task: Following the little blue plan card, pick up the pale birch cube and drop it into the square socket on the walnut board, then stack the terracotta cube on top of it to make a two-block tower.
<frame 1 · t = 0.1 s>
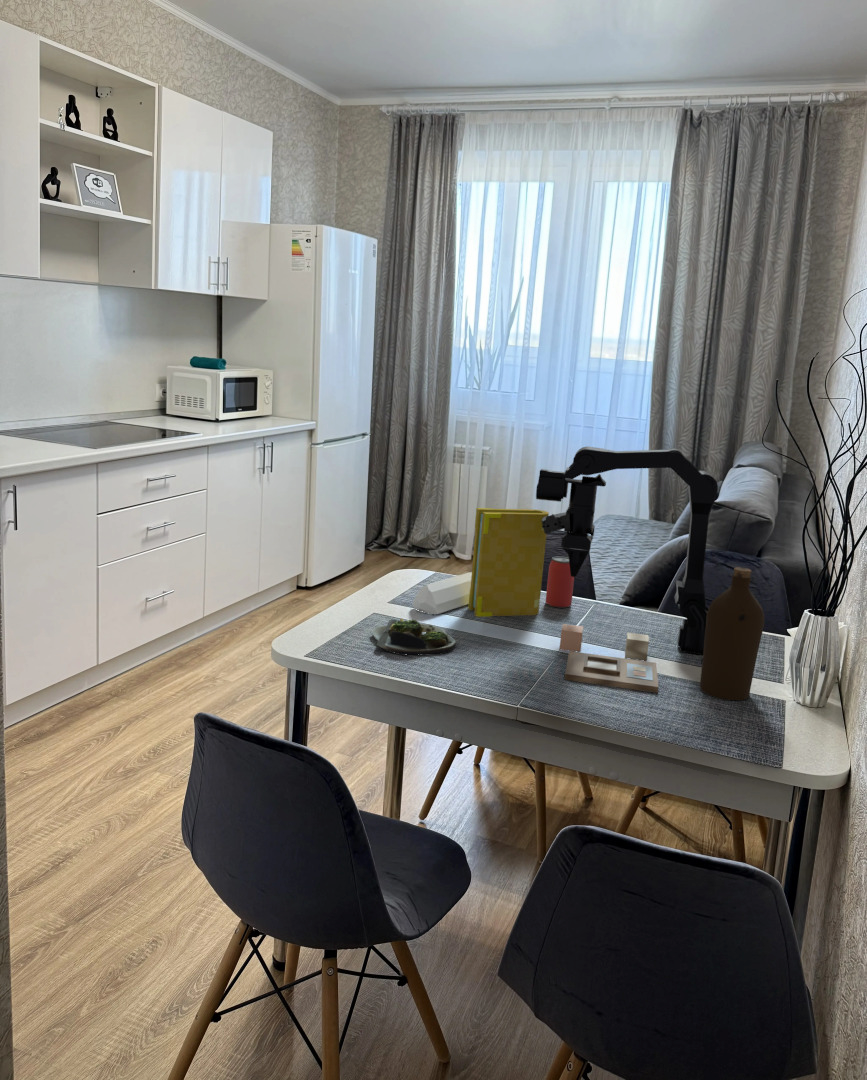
hand: (574, 571, 201), 15 cm above the table, tool pointing down, fingers open, 9 cm apart
beer can: (558, 605, 226), on the table
salad plate: (412, 645, 191), on the table
crystal: (449, 606, 220), on the table
olive oil: (723, 692, 176), on the table
terracotta block: (570, 647, 195), on the table
book: (505, 612, 217), on the table
birch block: (635, 656, 192), on the table
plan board: (611, 673, 181), on the table
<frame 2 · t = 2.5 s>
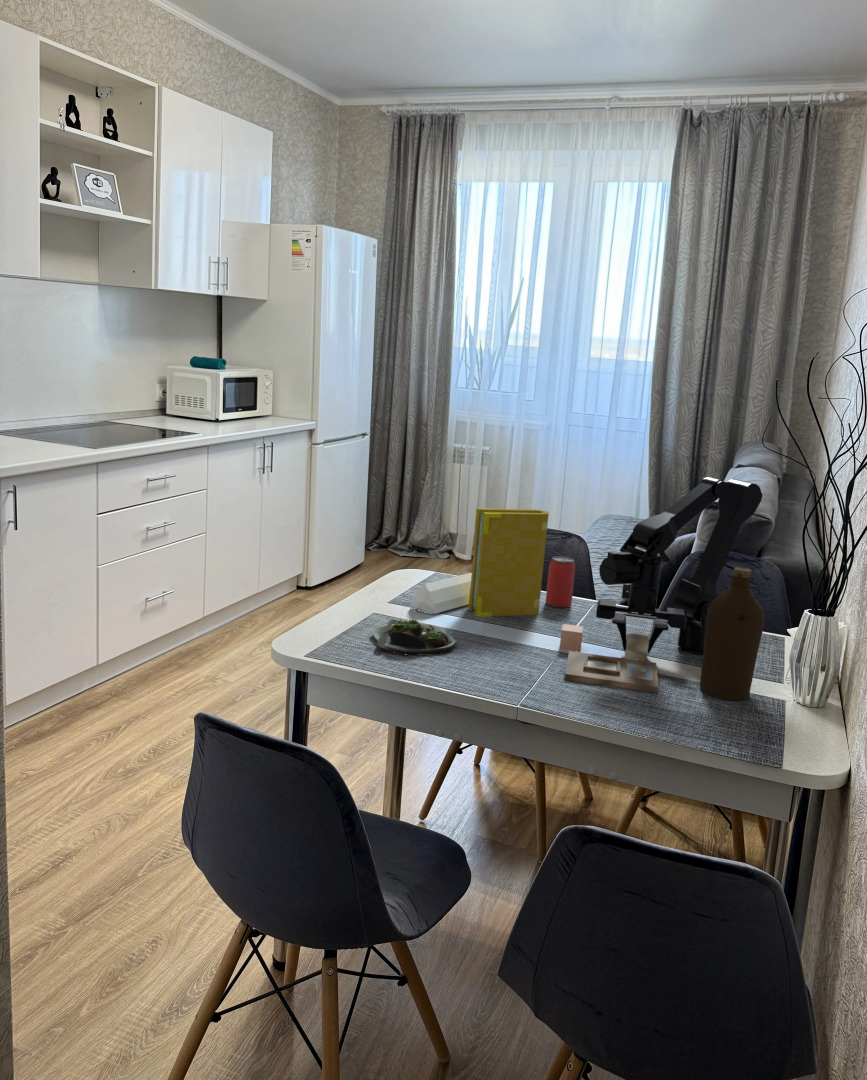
hand: (636, 651, 192), 1 cm above the table, tool pointing down, fingers closed on birch block, 4 cm apart
birch block: (635, 656, 192), on the table, touching gripper
everything else where it was.
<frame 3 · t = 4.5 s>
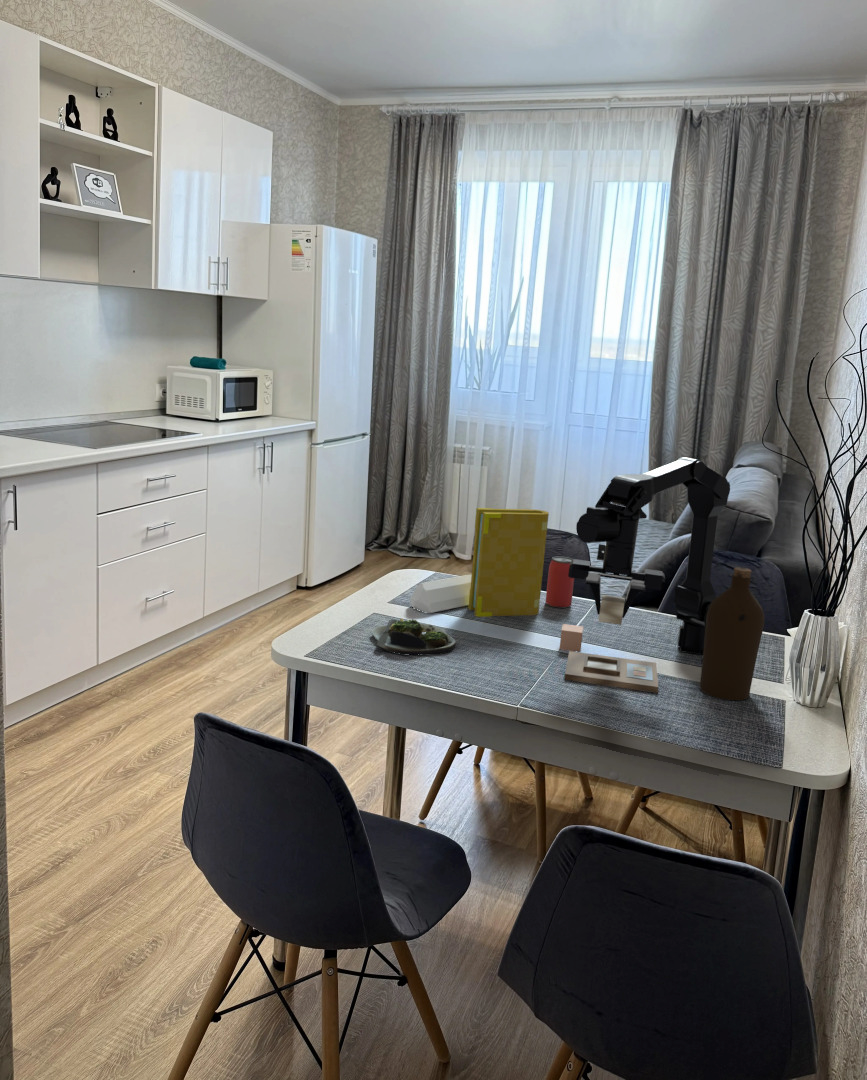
hand: (610, 615, 180), 12 cm above the table, tool pointing down, fingers closed on birch block, 4 cm apart
birch block: (610, 620, 180), point 11 cm above the table, touching gripper
when the fingers open (3 cm above the table, at t = 6.4 s): birch block drops 1 cm, resting on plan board.
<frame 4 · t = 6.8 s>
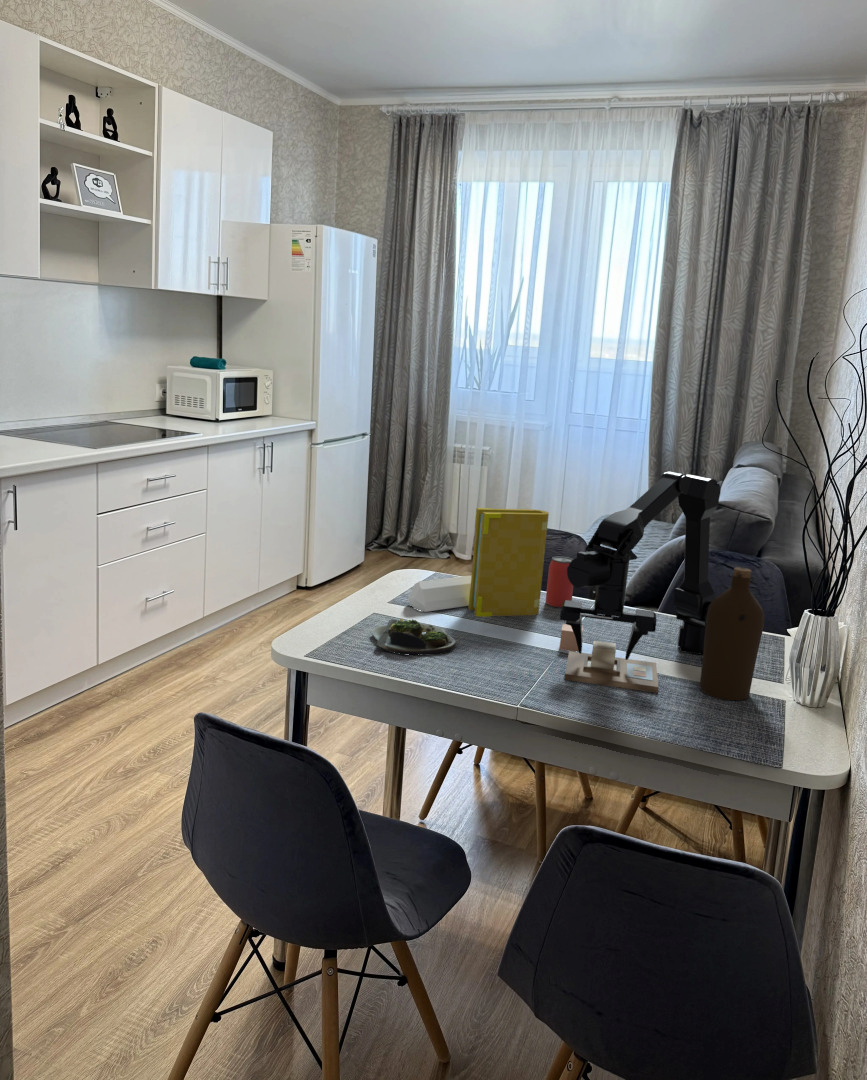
hand: (603, 656, 180), 3 cm above the table, tool pointing down, fingers open, 9 cm apart
birch block: (602, 666, 181), point 1 cm above the table, touching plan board
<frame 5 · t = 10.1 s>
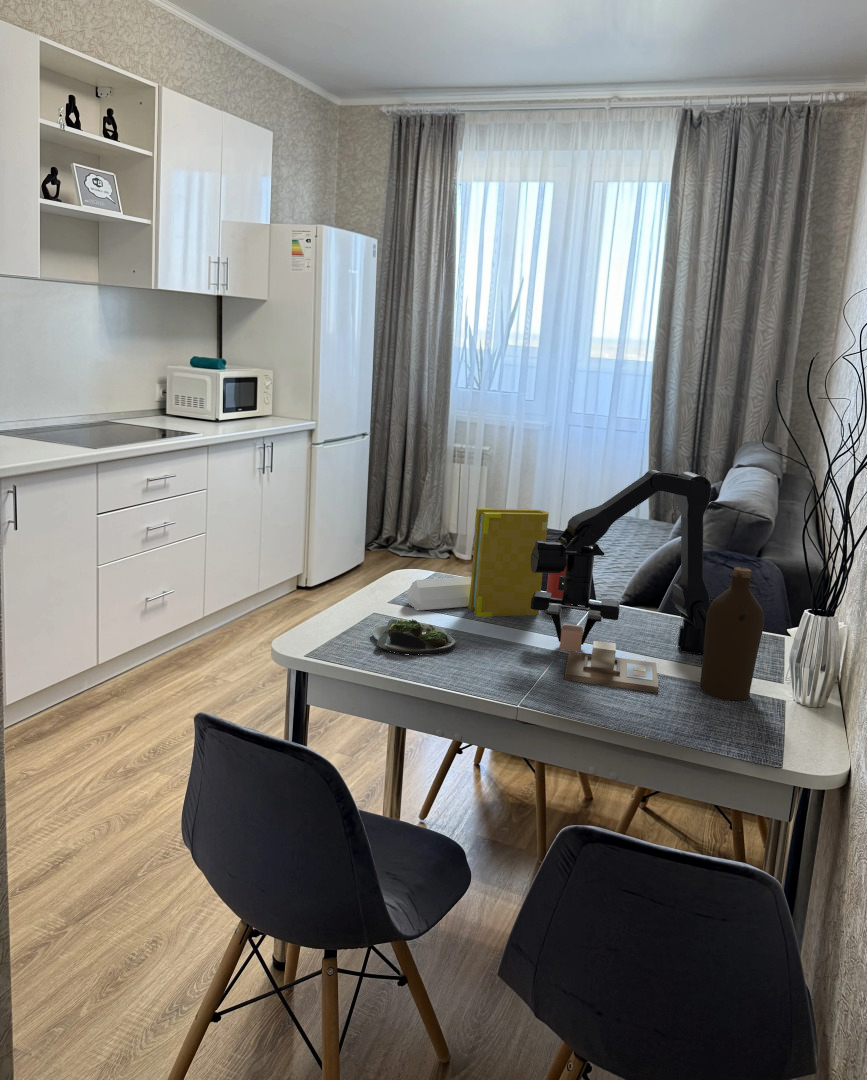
hand: (571, 642, 195), 1 cm above the table, tool pointing down, fingers closed on terracotta block, 4 cm apart
terracotta block: (570, 647, 195), on the table, touching gripper
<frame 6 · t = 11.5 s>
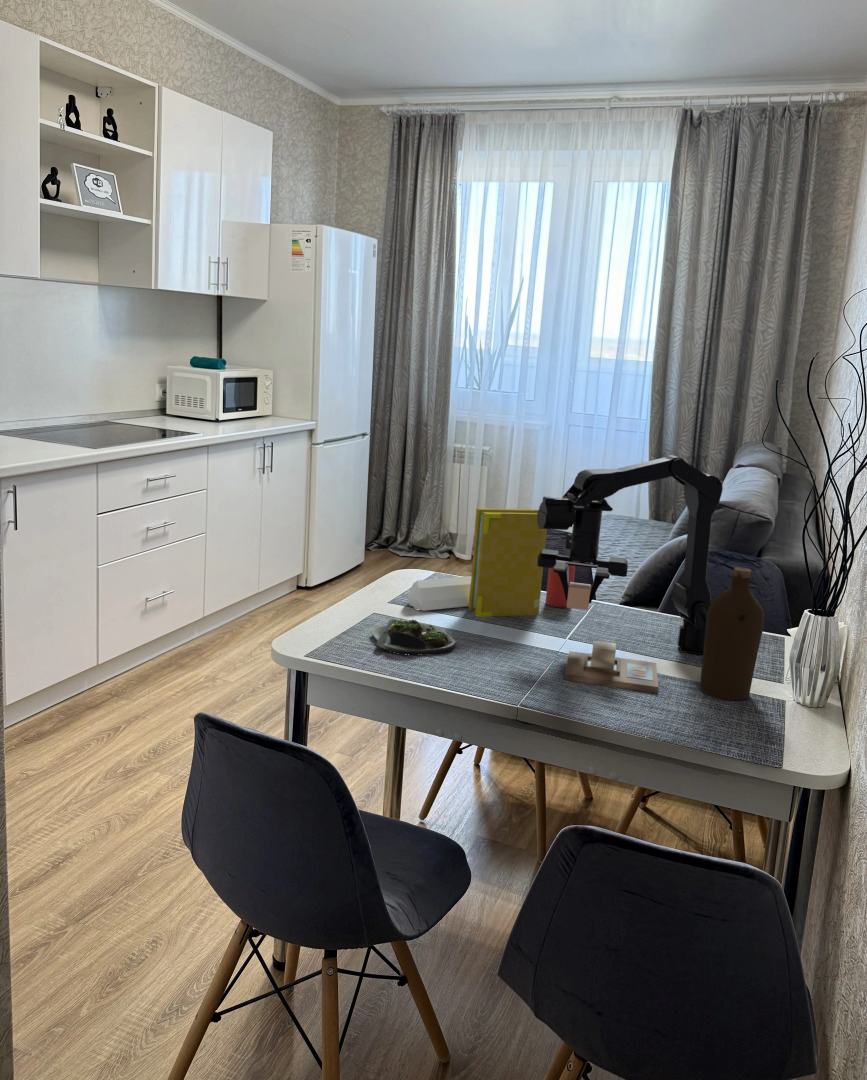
hand: (578, 601, 191), 11 cm above the table, tool pointing down, fingers closed on terracotta block, 4 cm apart
terracotta block: (577, 605, 191), point 10 cm above the table, touching gripper
when the fingers open (8 cm above the table, at t = 13.1 s): terracotta block stays where it is, resting on birch block.
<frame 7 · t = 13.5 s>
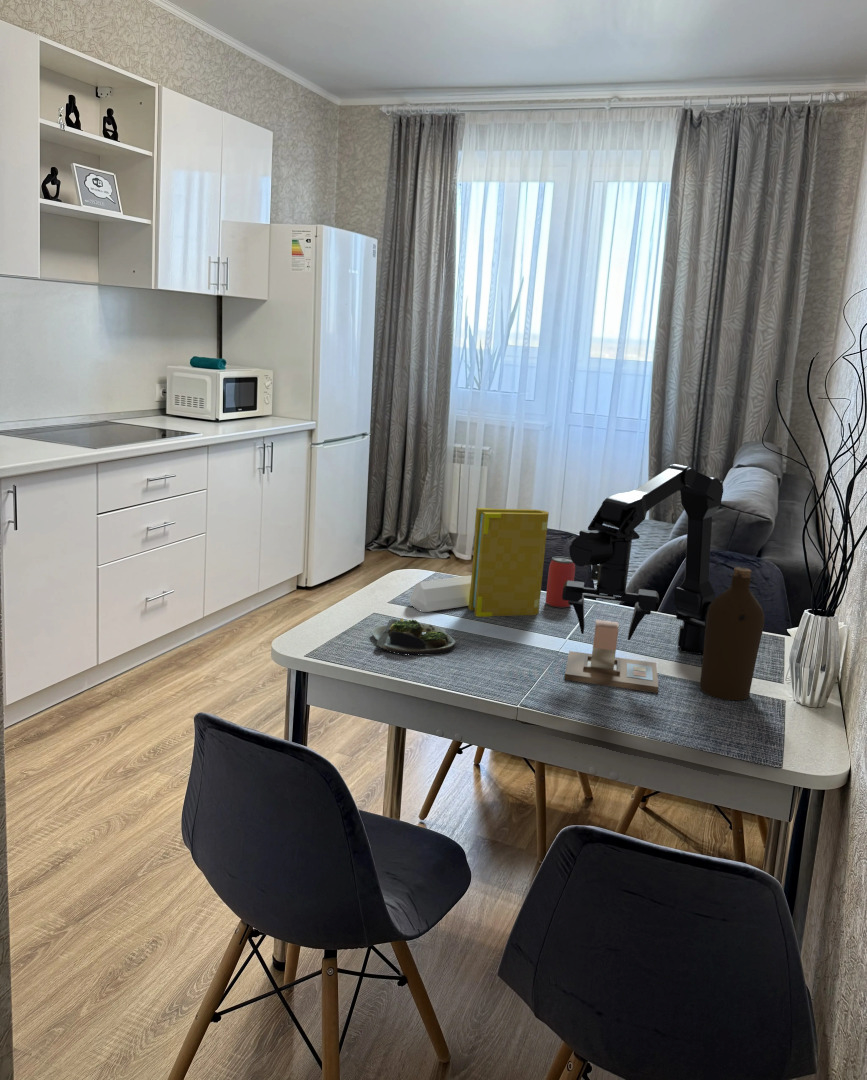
hand: (605, 636, 179), 8 cm above the table, tool pointing down, fingers open, 9 cm apart
terracotta block: (604, 645, 180), point 6 cm above the table, touching birch block
birch block: (602, 666, 181), point 1 cm above the table, touching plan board, terracotta block
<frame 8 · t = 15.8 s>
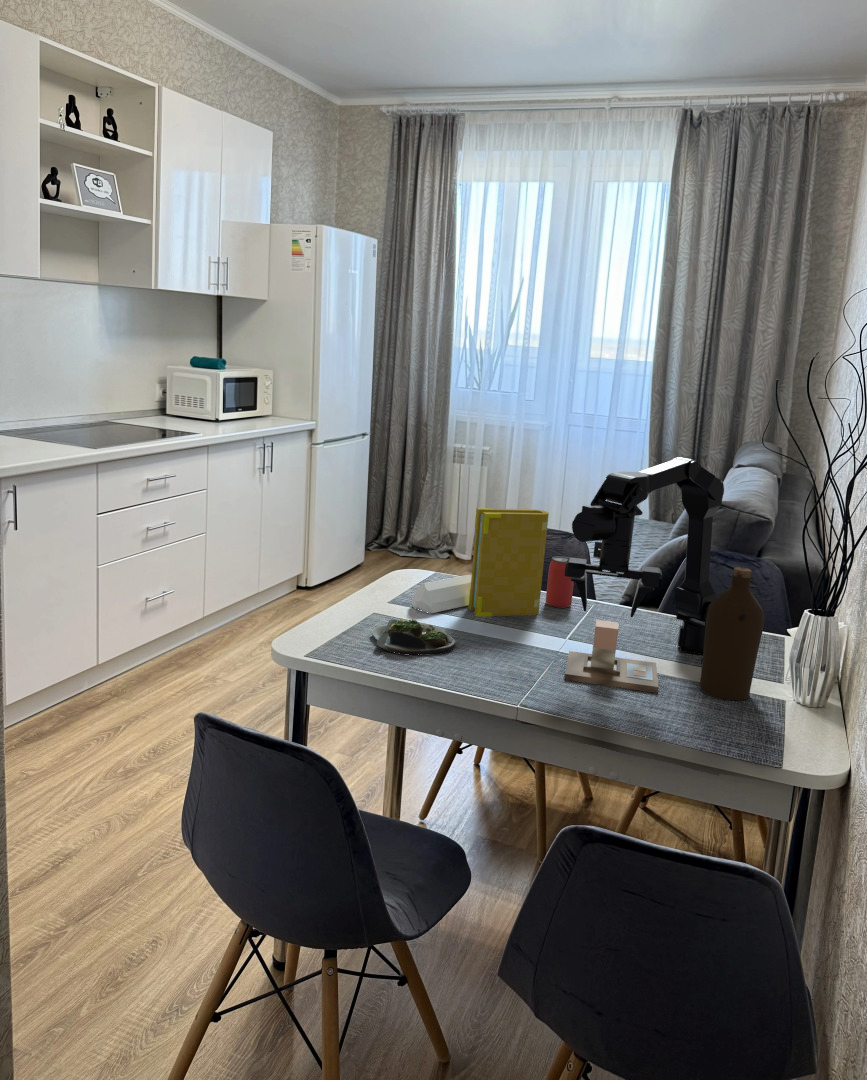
hand: (608, 613, 178), 12 cm above the table, tool pointing down, fingers open, 9 cm apart
at the end: birch block 0.0 cm from the target spot on the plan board, point 1.2 cm above the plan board's base; terracotta block 0.0 cm off-centre on the birch block, point 4.5 cm above the birch block's base; terracotta block tilted 0° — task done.
